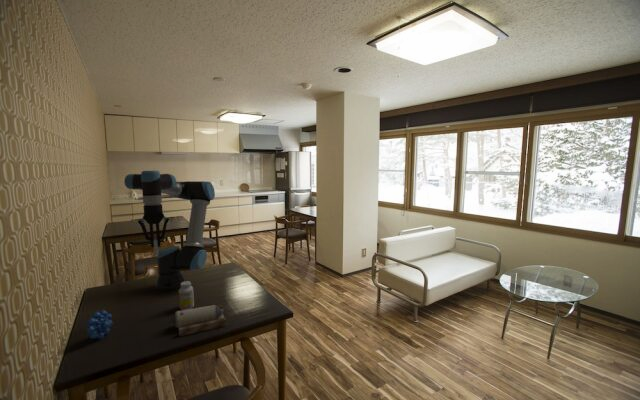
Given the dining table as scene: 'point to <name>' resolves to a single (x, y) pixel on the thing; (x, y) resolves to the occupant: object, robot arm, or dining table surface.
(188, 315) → the aerosol can
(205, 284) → the dining table surface
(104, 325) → the grapes
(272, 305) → the dining table surface
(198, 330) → the cradle
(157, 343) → the dining table surface
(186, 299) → the supplement bottle
